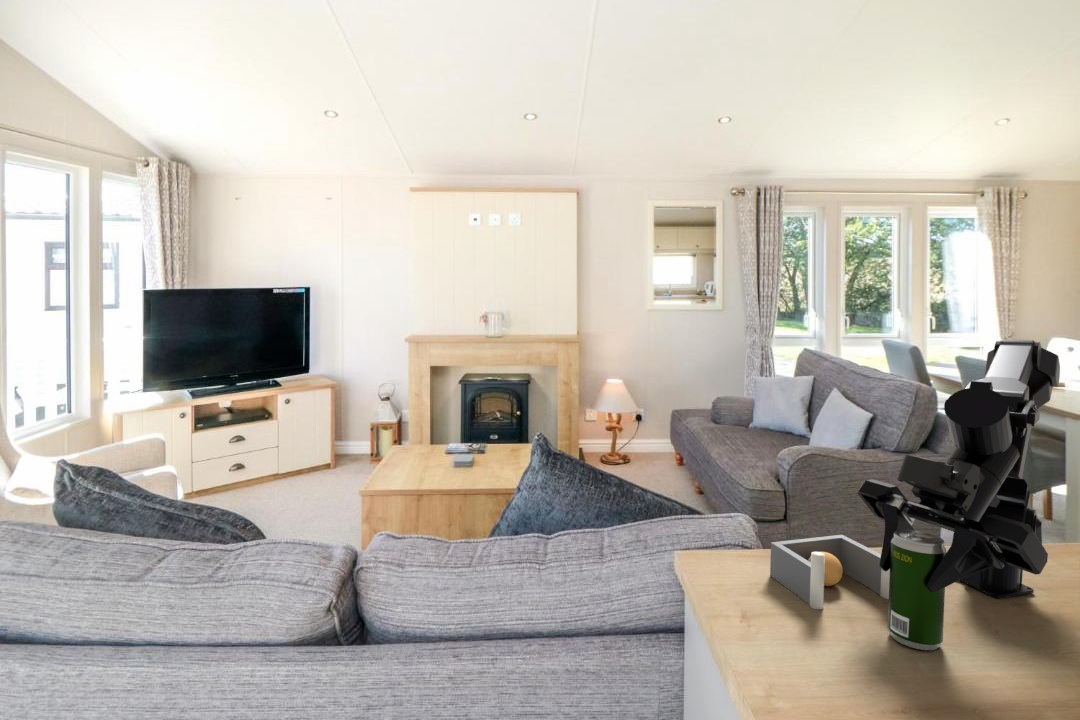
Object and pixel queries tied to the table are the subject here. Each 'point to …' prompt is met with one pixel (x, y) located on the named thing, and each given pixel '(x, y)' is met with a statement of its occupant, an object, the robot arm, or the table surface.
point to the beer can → (915, 590)
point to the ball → (831, 569)
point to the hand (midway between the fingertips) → (905, 578)
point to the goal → (809, 576)
